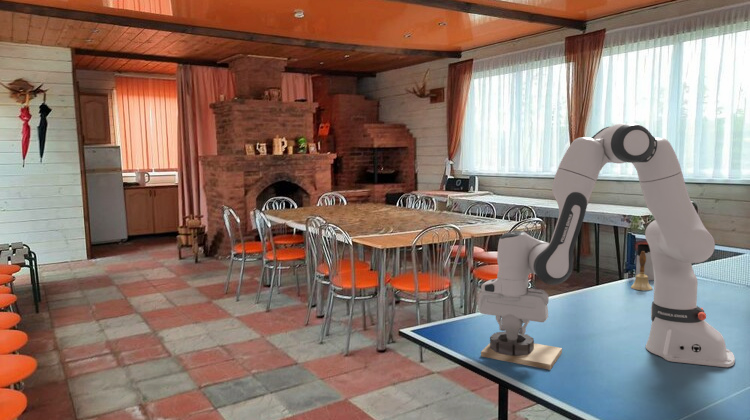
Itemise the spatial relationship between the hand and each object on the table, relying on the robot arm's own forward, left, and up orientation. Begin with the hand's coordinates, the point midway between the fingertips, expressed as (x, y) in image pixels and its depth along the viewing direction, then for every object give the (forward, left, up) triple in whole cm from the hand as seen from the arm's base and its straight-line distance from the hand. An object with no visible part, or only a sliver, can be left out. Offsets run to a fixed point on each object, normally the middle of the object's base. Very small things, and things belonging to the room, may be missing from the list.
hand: (512, 331), depth 160 cm
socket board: (-3, 0, -7) cm, 7 cm away
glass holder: (-25, -120, -7) cm, 123 cm away
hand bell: (-26, -97, -7) cm, 101 cm away
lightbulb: (0, 0, -5) cm, 5 cm away
